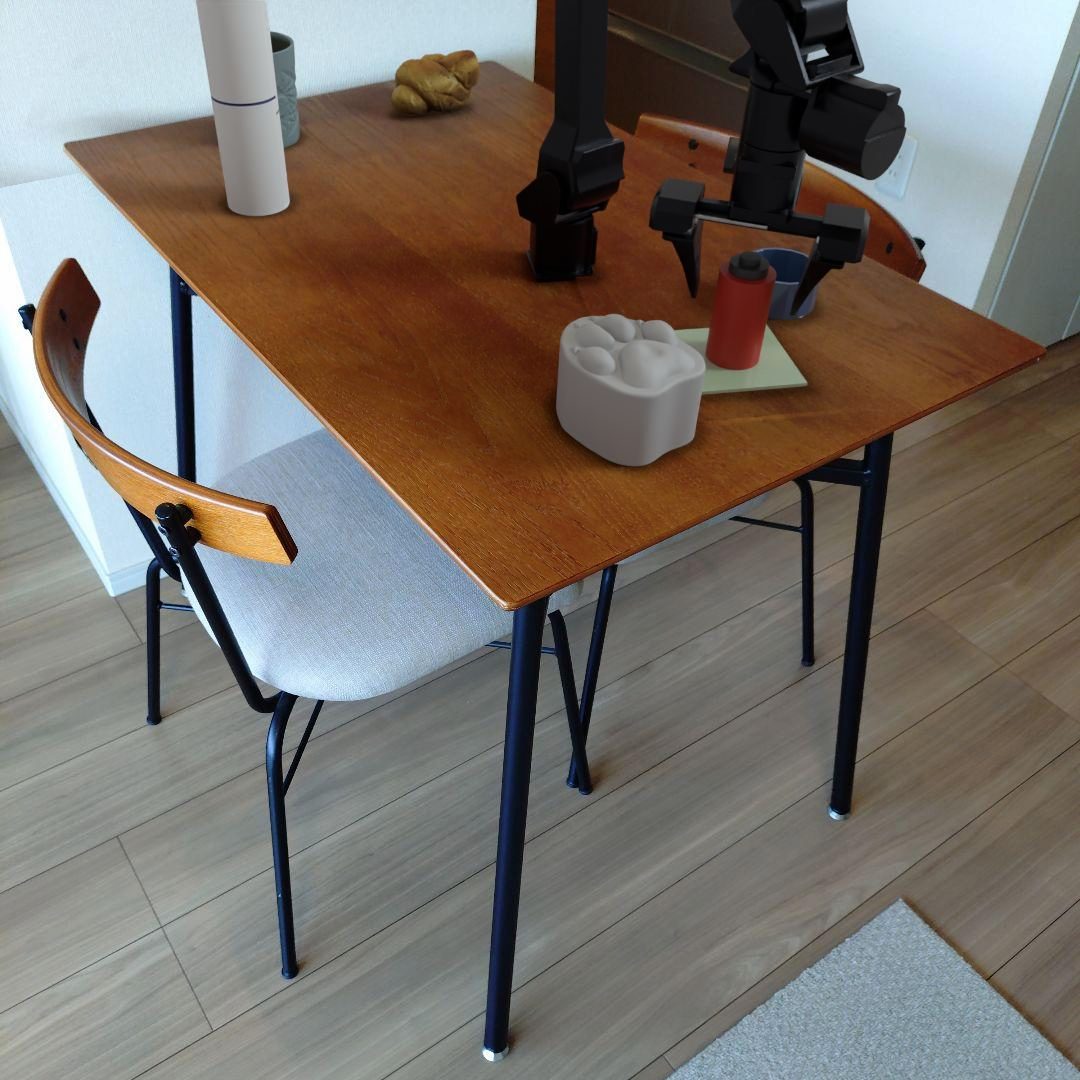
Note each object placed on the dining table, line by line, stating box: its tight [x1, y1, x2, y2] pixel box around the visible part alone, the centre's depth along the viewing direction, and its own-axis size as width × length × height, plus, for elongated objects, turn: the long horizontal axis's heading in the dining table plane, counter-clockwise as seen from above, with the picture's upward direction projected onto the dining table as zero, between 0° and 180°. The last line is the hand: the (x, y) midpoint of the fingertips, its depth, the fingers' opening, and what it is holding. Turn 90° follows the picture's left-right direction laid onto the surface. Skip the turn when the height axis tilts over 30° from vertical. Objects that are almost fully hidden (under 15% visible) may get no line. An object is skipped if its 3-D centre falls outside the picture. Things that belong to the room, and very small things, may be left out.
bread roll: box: [390, 49, 481, 117], centre depth 150 cm, size 13×10×8 cm
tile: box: [673, 324, 808, 396], centre depth 104 cm, size 11×11×1 cm
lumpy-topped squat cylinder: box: [555, 313, 706, 467], centre depth 94 cm, size 10×13×9 cm
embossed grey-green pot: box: [270, 30, 301, 149], centre depth 138 cm, size 10×10×12 cm
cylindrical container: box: [195, 0, 291, 217], centre depth 119 cm, size 7×7×25 cm
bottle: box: [706, 250, 776, 370], centre depth 101 cm, size 5×5×10 cm
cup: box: [751, 247, 821, 321], centre depth 112 cm, size 8×8×4 cm
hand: (742, 305), depth 100 cm, fingers open, 9 cm apart
